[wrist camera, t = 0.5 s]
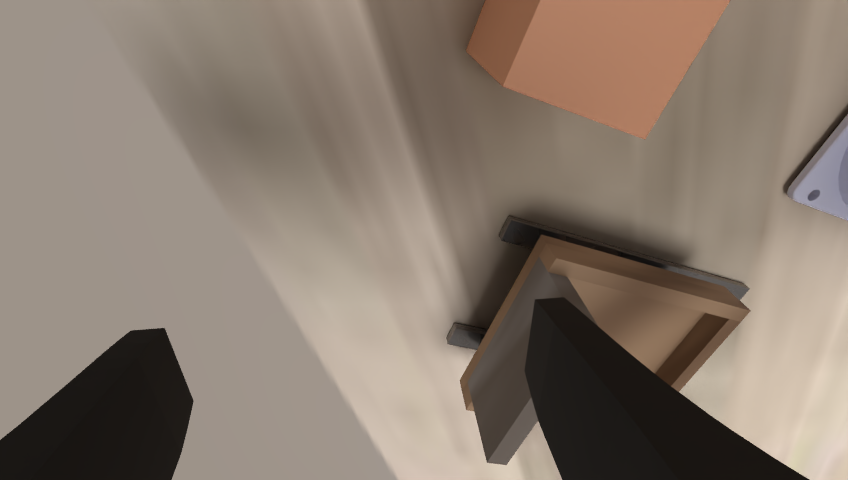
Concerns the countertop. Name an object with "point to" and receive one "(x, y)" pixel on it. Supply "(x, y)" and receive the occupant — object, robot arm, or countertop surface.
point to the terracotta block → (595, 53)
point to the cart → (611, 311)
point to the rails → (531, 232)
